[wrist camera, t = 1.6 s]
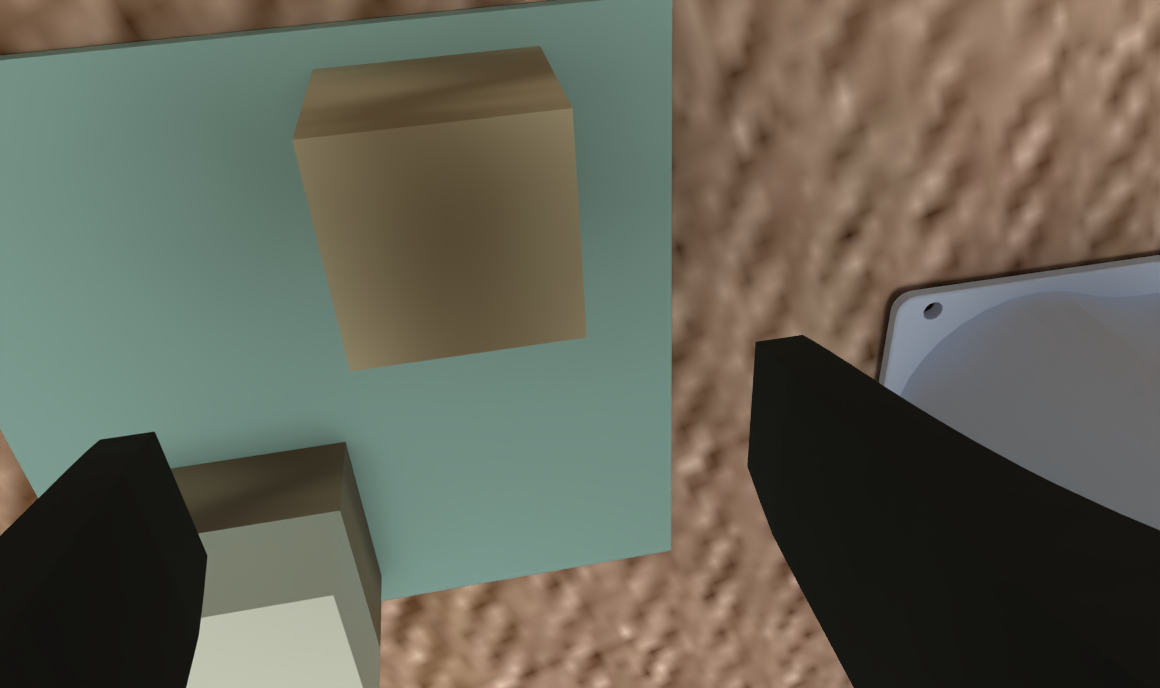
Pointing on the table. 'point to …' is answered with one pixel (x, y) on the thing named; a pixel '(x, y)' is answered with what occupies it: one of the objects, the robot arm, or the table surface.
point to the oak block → (444, 204)
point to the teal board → (303, 300)
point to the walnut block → (285, 500)
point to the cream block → (284, 609)
